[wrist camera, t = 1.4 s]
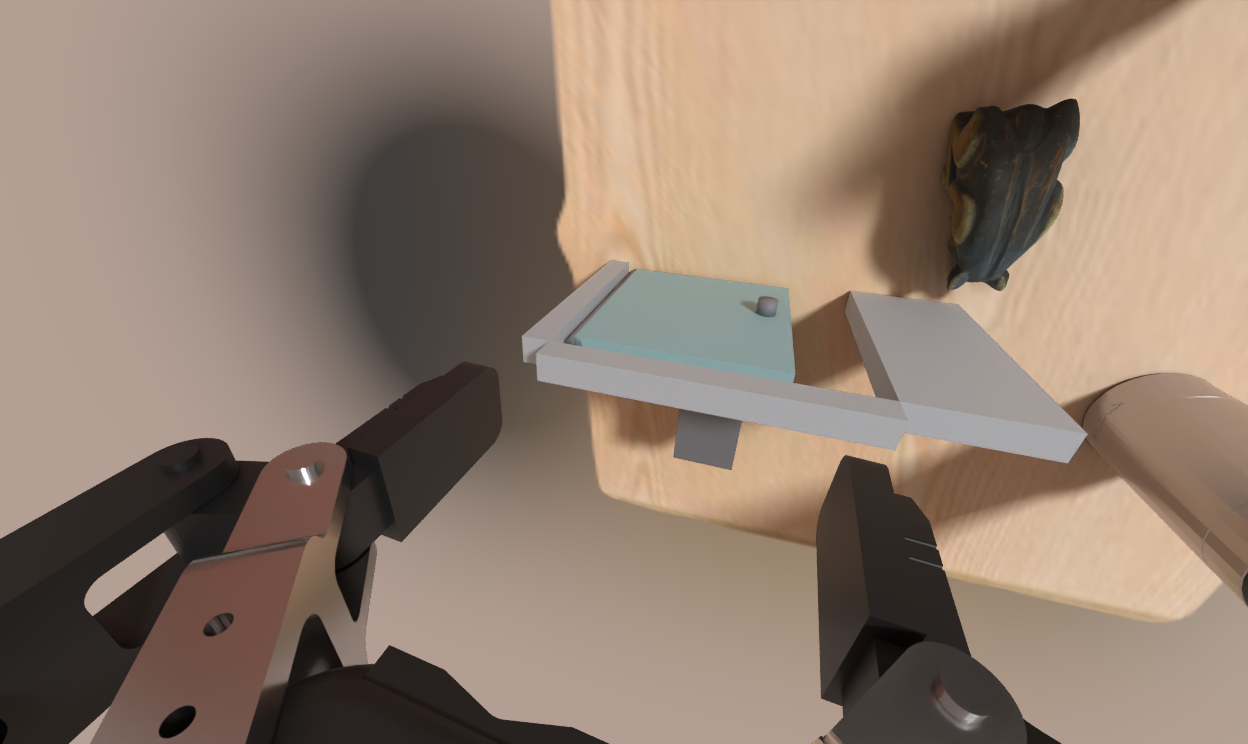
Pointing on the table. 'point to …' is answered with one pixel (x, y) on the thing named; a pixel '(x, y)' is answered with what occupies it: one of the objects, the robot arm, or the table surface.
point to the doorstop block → (706, 438)
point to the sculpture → (1004, 185)
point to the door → (695, 324)
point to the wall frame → (897, 368)
